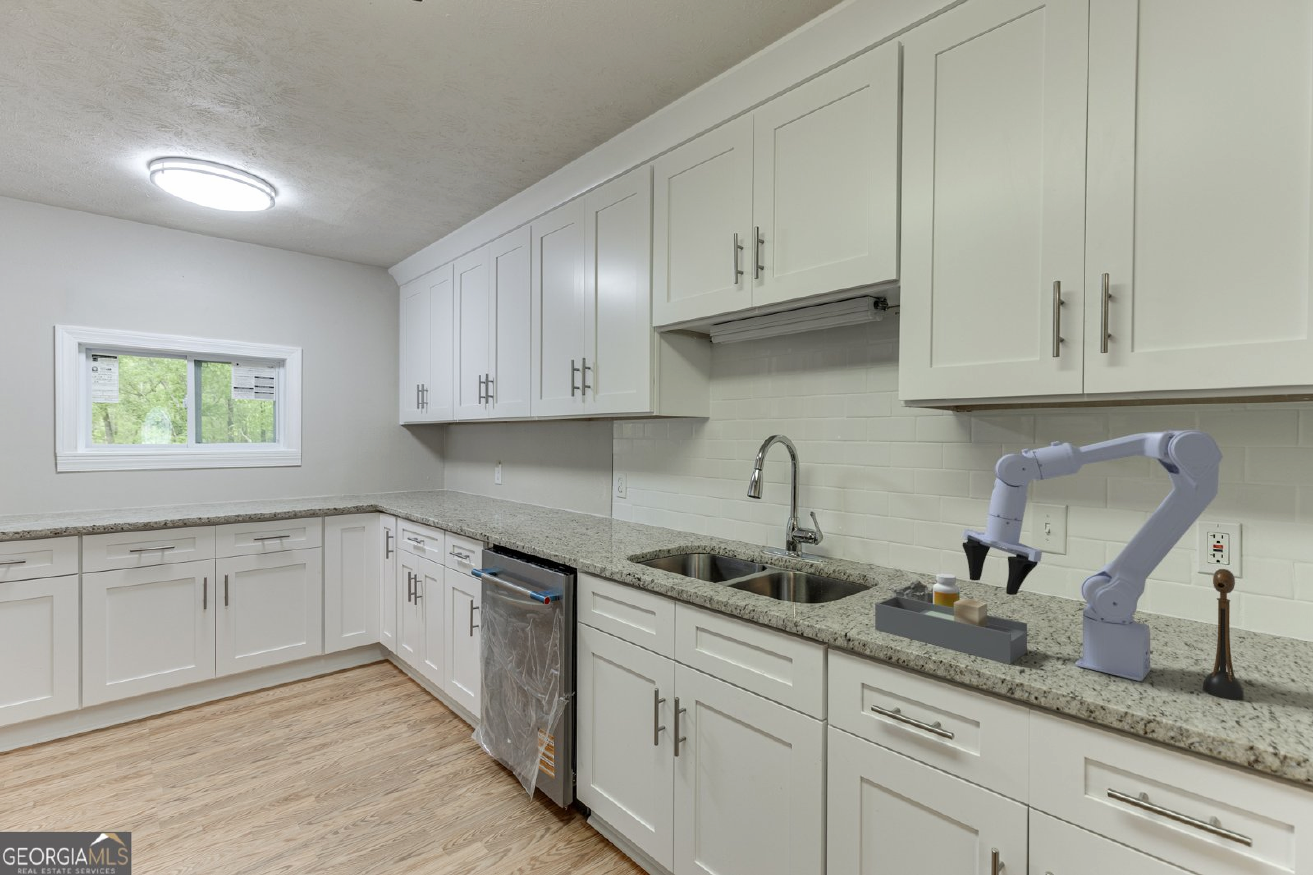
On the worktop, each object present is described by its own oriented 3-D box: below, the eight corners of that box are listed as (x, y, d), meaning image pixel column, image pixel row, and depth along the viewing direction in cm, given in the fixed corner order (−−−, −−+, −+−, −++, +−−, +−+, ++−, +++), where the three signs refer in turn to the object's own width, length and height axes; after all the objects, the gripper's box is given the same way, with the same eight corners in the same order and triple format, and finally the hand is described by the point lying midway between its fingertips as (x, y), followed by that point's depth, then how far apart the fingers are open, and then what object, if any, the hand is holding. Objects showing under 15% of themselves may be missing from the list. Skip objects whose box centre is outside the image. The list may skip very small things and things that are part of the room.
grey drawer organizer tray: (1027, 652, 115) (1027, 623, 115) (1010, 664, 109) (1010, 634, 109) (895, 620, 134) (895, 595, 134) (875, 629, 128) (875, 603, 128)
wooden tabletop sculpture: (1240, 704, 93) (1240, 574, 92) (1199, 694, 96) (1200, 569, 96) (1245, 693, 96) (1245, 569, 96) (1206, 684, 100) (1206, 564, 100)
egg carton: (920, 595, 155) (920, 579, 155) (943, 603, 148) (944, 586, 148) (887, 599, 151) (887, 583, 151) (909, 607, 144) (909, 590, 144)
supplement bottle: (962, 623, 132) (962, 578, 132) (936, 621, 133) (936, 577, 133) (955, 615, 137) (955, 573, 137) (930, 614, 138) (930, 572, 138)
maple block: (987, 625, 118) (987, 603, 118) (978, 631, 115) (978, 607, 115) (963, 620, 121) (963, 598, 121) (953, 625, 118) (953, 602, 118)
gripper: (957, 507, 119) (945, 574, 120) (1029, 526, 105) (1015, 601, 107) (981, 508, 122) (969, 573, 123) (1054, 527, 108) (1040, 600, 110)
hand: (992, 586), depth 115 cm, fingers open, 7 cm apart
